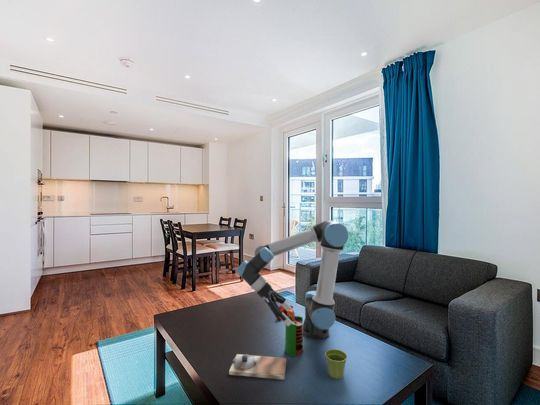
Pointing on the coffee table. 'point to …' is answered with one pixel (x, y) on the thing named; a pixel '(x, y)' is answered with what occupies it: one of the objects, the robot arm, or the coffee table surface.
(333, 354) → the plant pot
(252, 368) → the board
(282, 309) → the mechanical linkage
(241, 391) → the coffee table surface
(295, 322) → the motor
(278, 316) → the robot arm
